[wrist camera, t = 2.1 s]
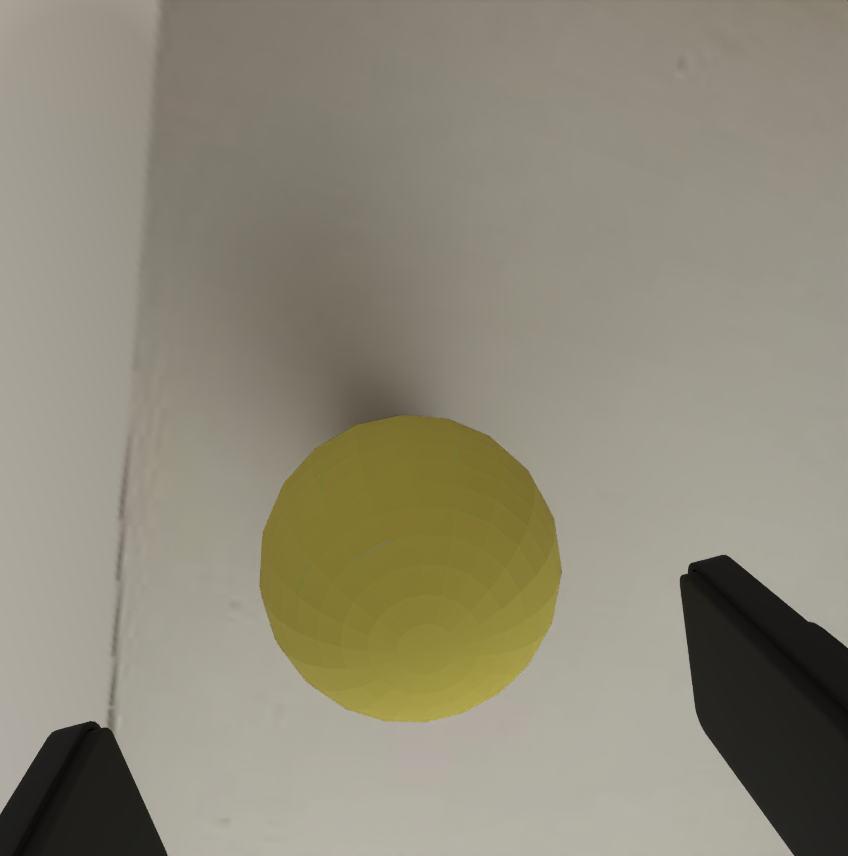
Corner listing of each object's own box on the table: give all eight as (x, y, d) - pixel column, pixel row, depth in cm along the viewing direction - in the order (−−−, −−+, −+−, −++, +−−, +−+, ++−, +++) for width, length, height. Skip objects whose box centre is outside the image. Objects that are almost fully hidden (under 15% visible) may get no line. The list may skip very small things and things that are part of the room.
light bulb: (362, 319, 20) (366, 397, 10) (536, 431, 21) (682, 590, 12) (251, 495, 21) (161, 713, 11) (423, 589, 22) (472, 849, 13)
